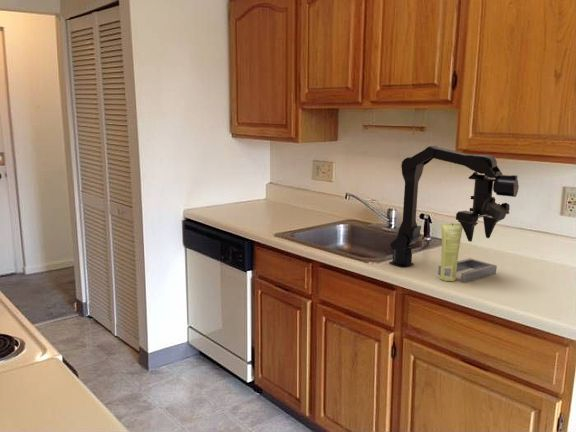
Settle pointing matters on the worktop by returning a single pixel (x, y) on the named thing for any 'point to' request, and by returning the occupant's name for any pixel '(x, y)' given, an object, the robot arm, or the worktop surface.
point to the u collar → (479, 272)
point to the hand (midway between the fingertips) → (478, 239)
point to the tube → (450, 250)
